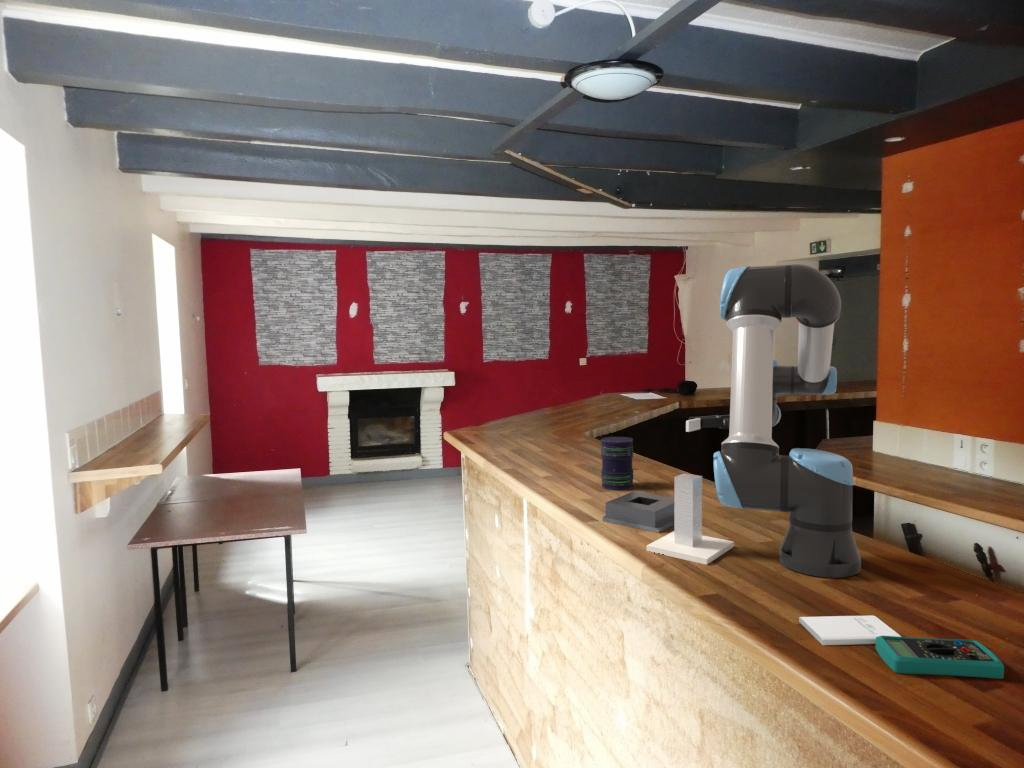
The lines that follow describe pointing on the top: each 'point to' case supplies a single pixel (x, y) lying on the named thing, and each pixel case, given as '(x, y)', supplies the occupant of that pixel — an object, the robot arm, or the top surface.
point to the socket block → (641, 511)
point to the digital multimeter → (939, 657)
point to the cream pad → (691, 548)
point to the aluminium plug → (688, 510)
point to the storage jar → (617, 463)
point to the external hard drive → (846, 629)
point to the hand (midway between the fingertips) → (713, 428)
